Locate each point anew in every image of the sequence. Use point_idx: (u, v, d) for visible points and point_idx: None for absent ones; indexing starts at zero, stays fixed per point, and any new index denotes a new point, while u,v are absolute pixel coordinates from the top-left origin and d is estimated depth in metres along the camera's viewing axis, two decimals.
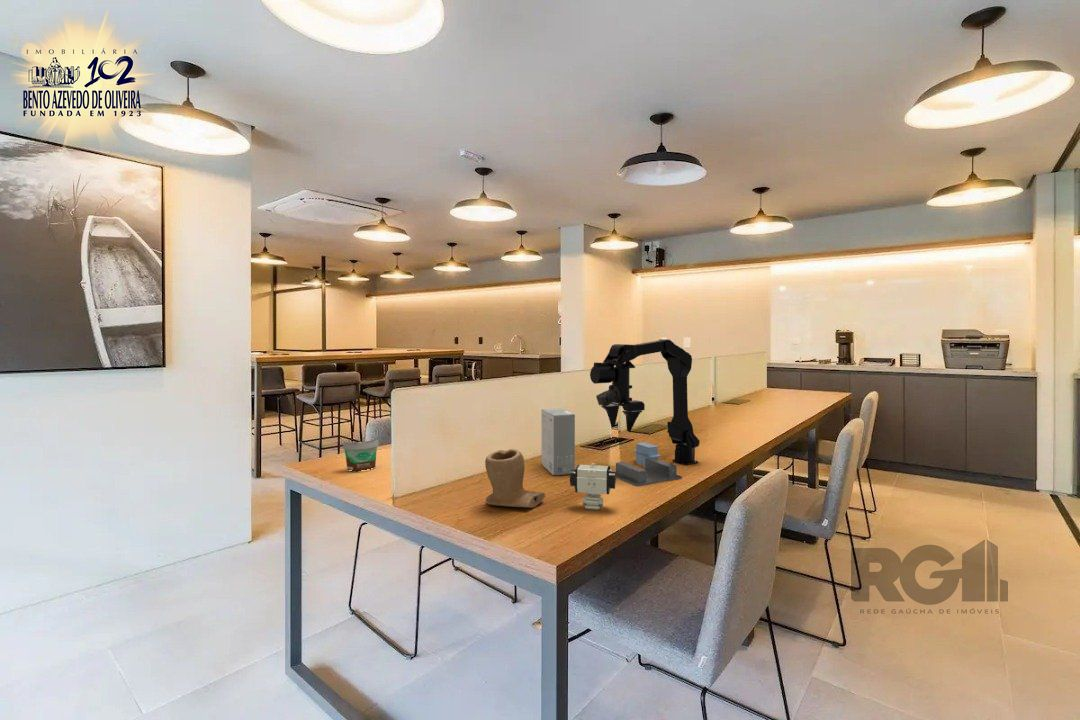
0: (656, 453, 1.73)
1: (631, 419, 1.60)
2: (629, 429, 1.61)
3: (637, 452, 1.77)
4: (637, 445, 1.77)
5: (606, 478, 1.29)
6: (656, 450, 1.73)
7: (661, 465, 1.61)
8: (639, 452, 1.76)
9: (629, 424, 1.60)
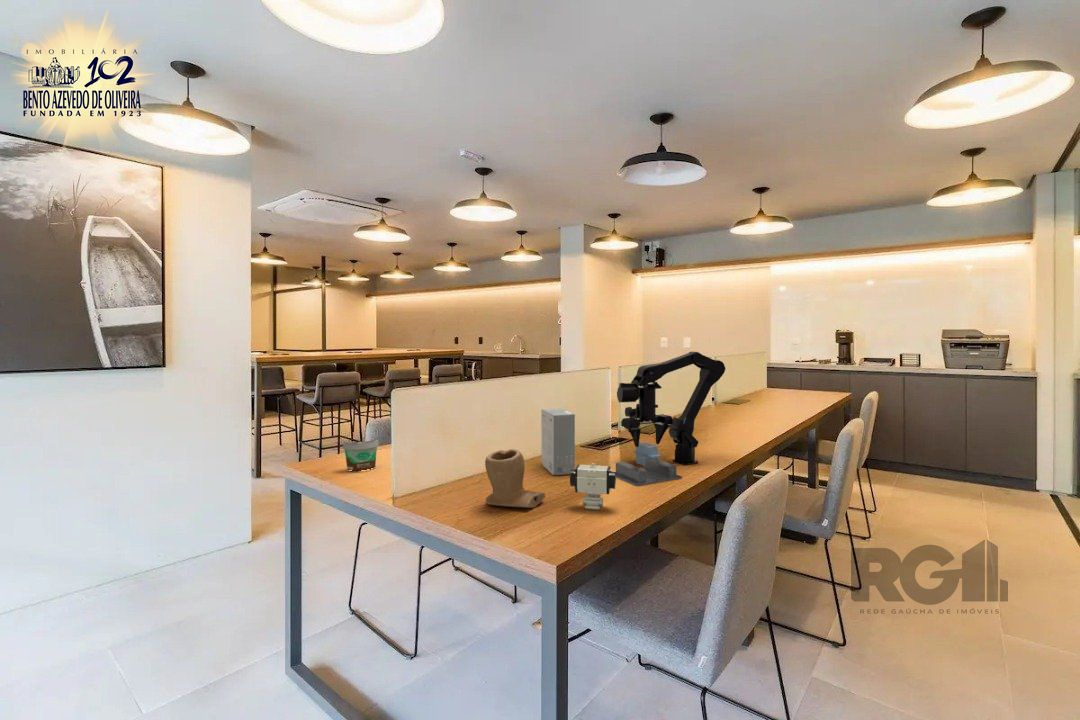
0: (656, 453, 1.73)
1: (634, 435, 1.73)
2: (636, 445, 1.74)
3: (637, 452, 1.77)
4: None
5: (606, 478, 1.29)
6: (656, 450, 1.73)
7: (661, 465, 1.61)
8: (639, 452, 1.76)
9: (633, 440, 1.74)
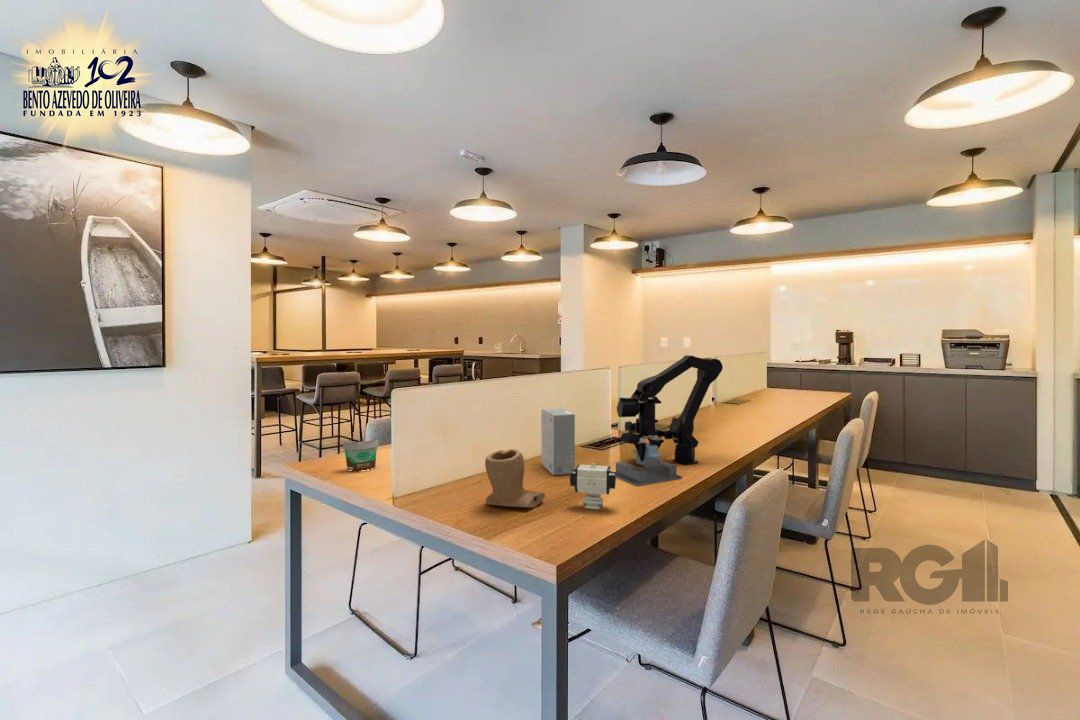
0: (656, 453, 1.73)
1: (639, 449, 1.74)
2: (641, 458, 1.75)
3: (637, 452, 1.77)
4: None
5: (606, 478, 1.29)
6: (656, 450, 1.73)
7: (661, 465, 1.61)
8: None
9: (639, 454, 1.75)
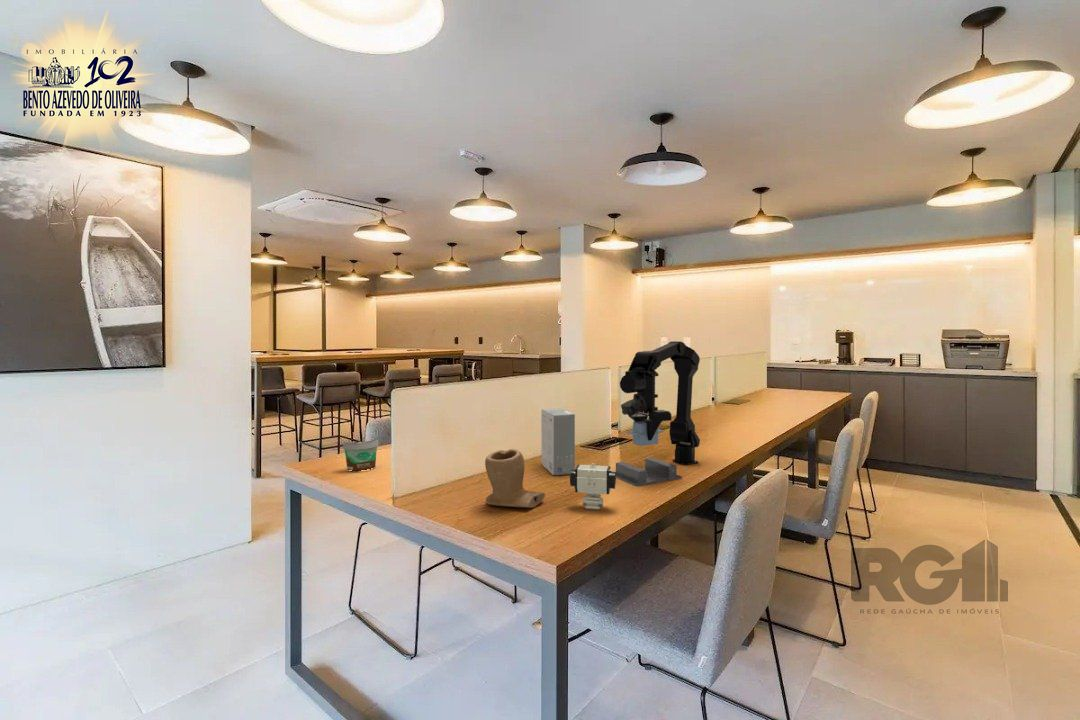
0: None
1: (652, 428, 1.58)
2: (650, 438, 1.59)
3: (642, 433, 1.58)
4: (642, 425, 1.57)
5: (606, 478, 1.29)
6: None
7: (661, 465, 1.61)
8: (645, 432, 1.58)
9: (650, 433, 1.58)
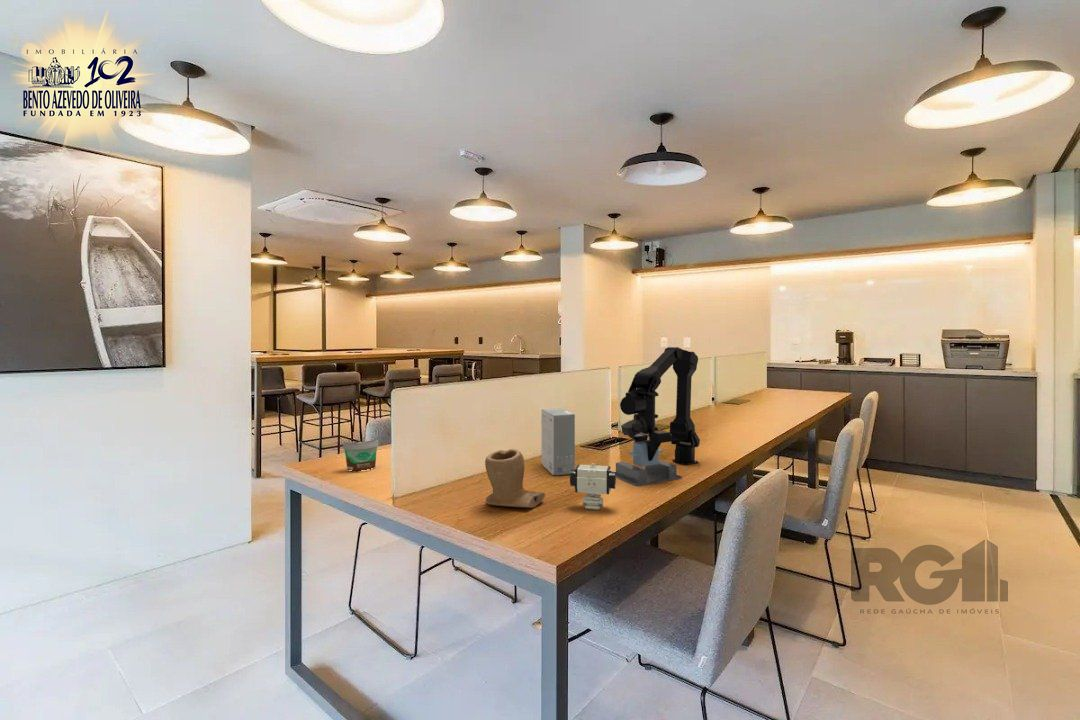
0: None
1: (653, 448, 1.58)
2: (650, 458, 1.59)
3: (642, 454, 1.58)
4: (642, 446, 1.57)
5: (606, 478, 1.29)
6: None
7: (661, 465, 1.61)
8: (645, 452, 1.58)
9: (651, 454, 1.58)
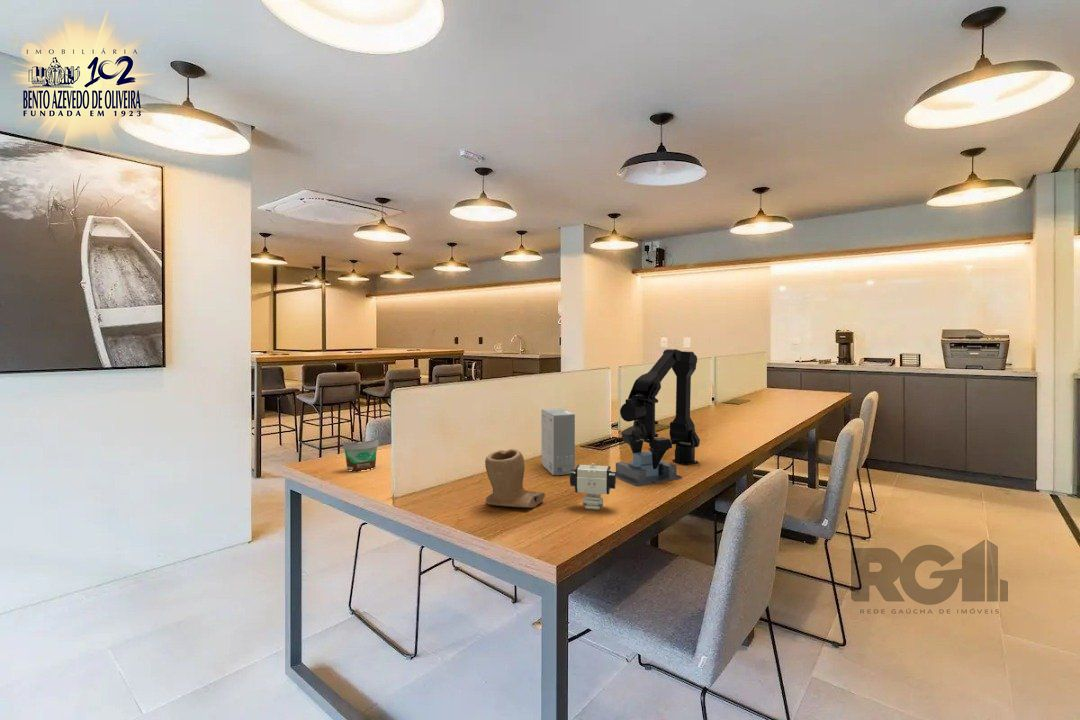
0: None
1: (657, 457, 1.56)
2: (655, 466, 1.57)
3: (642, 465, 1.58)
4: (642, 457, 1.58)
5: (606, 478, 1.29)
6: None
7: (661, 465, 1.61)
8: (645, 464, 1.58)
9: (655, 462, 1.56)
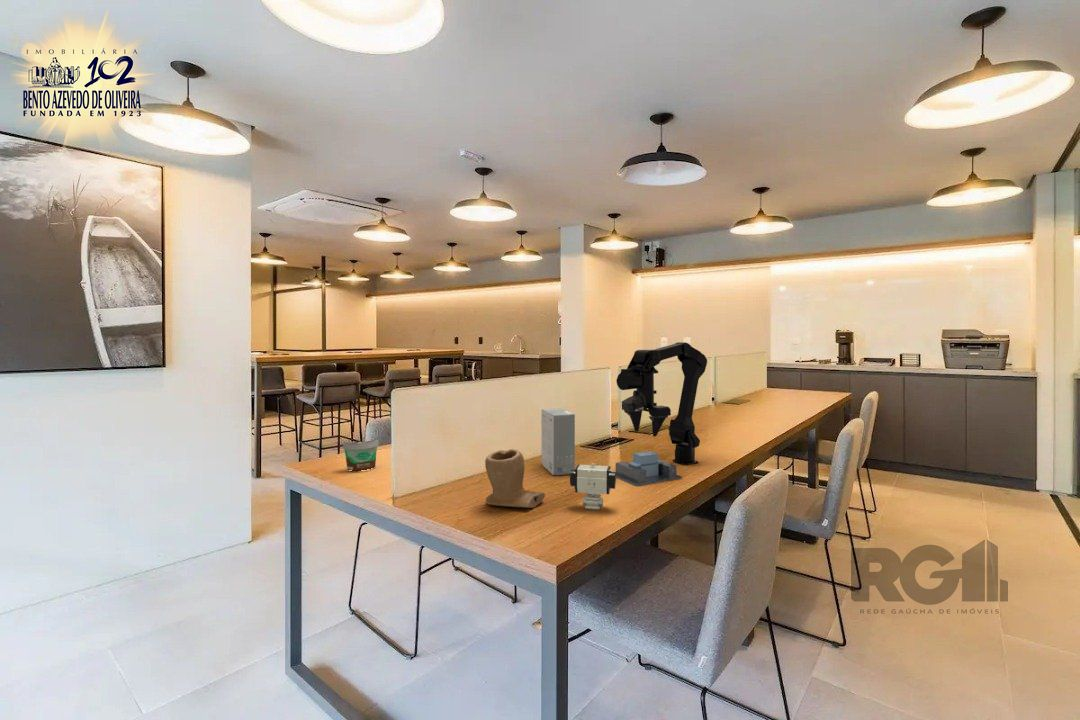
0: None
1: (657, 424, 1.62)
2: (655, 434, 1.63)
3: (642, 465, 1.58)
4: (642, 457, 1.58)
5: (606, 478, 1.29)
6: None
7: (661, 465, 1.61)
8: (645, 464, 1.58)
9: (655, 429, 1.62)
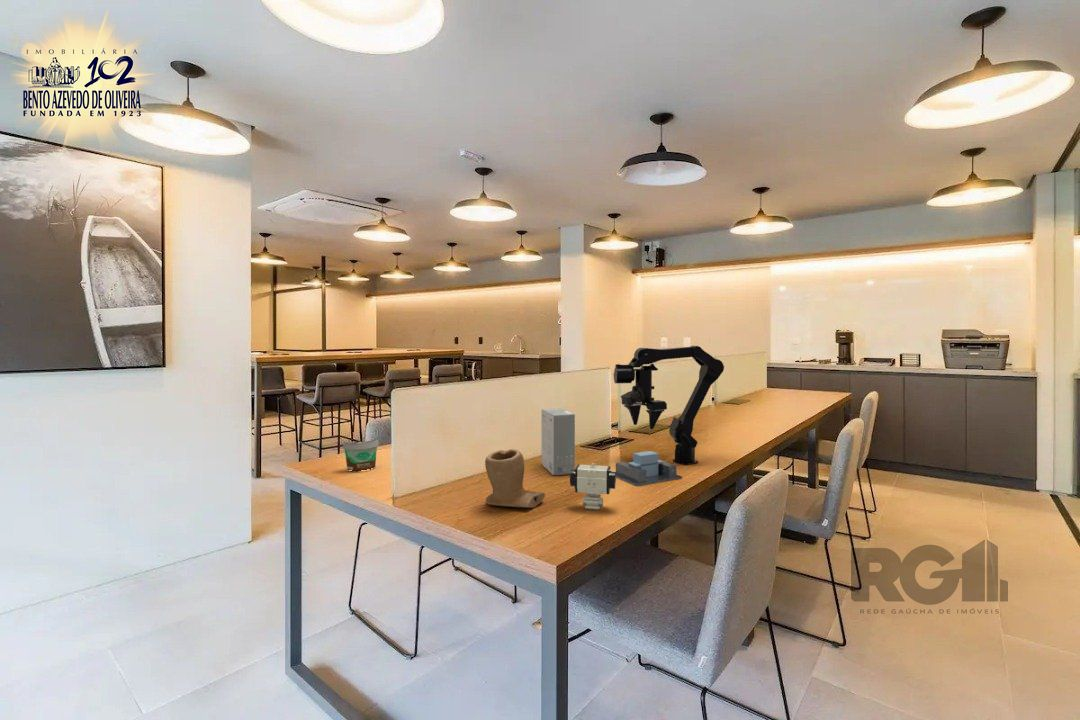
0: None
1: (654, 418, 1.72)
2: (652, 427, 1.73)
3: (642, 465, 1.58)
4: (642, 457, 1.58)
5: (606, 478, 1.29)
6: None
7: (661, 465, 1.61)
8: (645, 464, 1.58)
9: (652, 422, 1.72)
